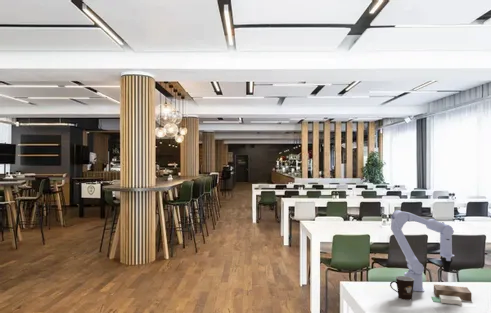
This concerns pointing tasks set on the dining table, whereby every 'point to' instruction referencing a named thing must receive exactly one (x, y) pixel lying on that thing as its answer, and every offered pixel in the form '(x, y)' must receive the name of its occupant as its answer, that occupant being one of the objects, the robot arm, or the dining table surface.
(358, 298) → the dining table surface
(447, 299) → the upright cream block
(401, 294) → the coffee mug
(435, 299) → the mat
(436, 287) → the brown flat block
